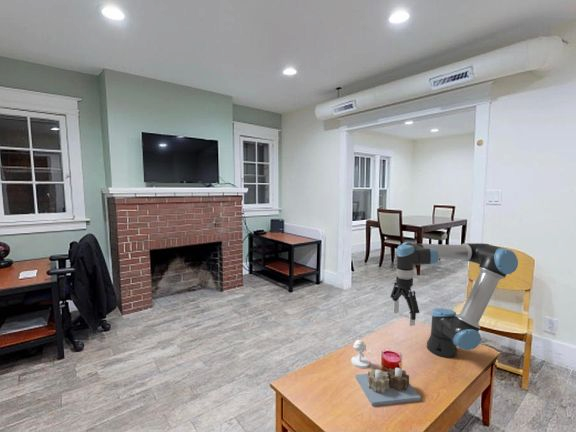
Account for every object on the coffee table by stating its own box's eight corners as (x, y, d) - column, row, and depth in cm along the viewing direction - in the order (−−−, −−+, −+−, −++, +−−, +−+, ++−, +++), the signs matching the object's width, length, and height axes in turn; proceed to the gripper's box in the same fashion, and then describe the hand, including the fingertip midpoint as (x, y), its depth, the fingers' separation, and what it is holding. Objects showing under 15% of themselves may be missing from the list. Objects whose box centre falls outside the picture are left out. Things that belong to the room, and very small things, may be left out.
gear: (377, 377, 138) (377, 367, 137) (392, 388, 130) (393, 378, 130) (363, 383, 133) (363, 373, 133) (378, 396, 126) (379, 385, 125)
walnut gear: (401, 377, 138) (401, 367, 138) (412, 390, 130) (412, 379, 129) (383, 378, 137) (384, 368, 136) (393, 392, 128) (393, 381, 128)
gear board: (398, 373, 143) (399, 357, 142) (420, 400, 126) (421, 381, 125) (355, 377, 140) (356, 360, 139) (372, 405, 122) (373, 386, 121)
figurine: (370, 369, 146) (371, 346, 145) (351, 366, 148) (352, 344, 147) (368, 358, 155) (369, 337, 154) (351, 356, 157) (352, 335, 156)
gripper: (384, 270, 154) (383, 309, 156) (413, 286, 129) (412, 332, 132) (397, 269, 155) (396, 307, 157) (428, 285, 131) (426, 330, 133)
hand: (403, 318), depth 145 cm, fingers open, 13 cm apart
